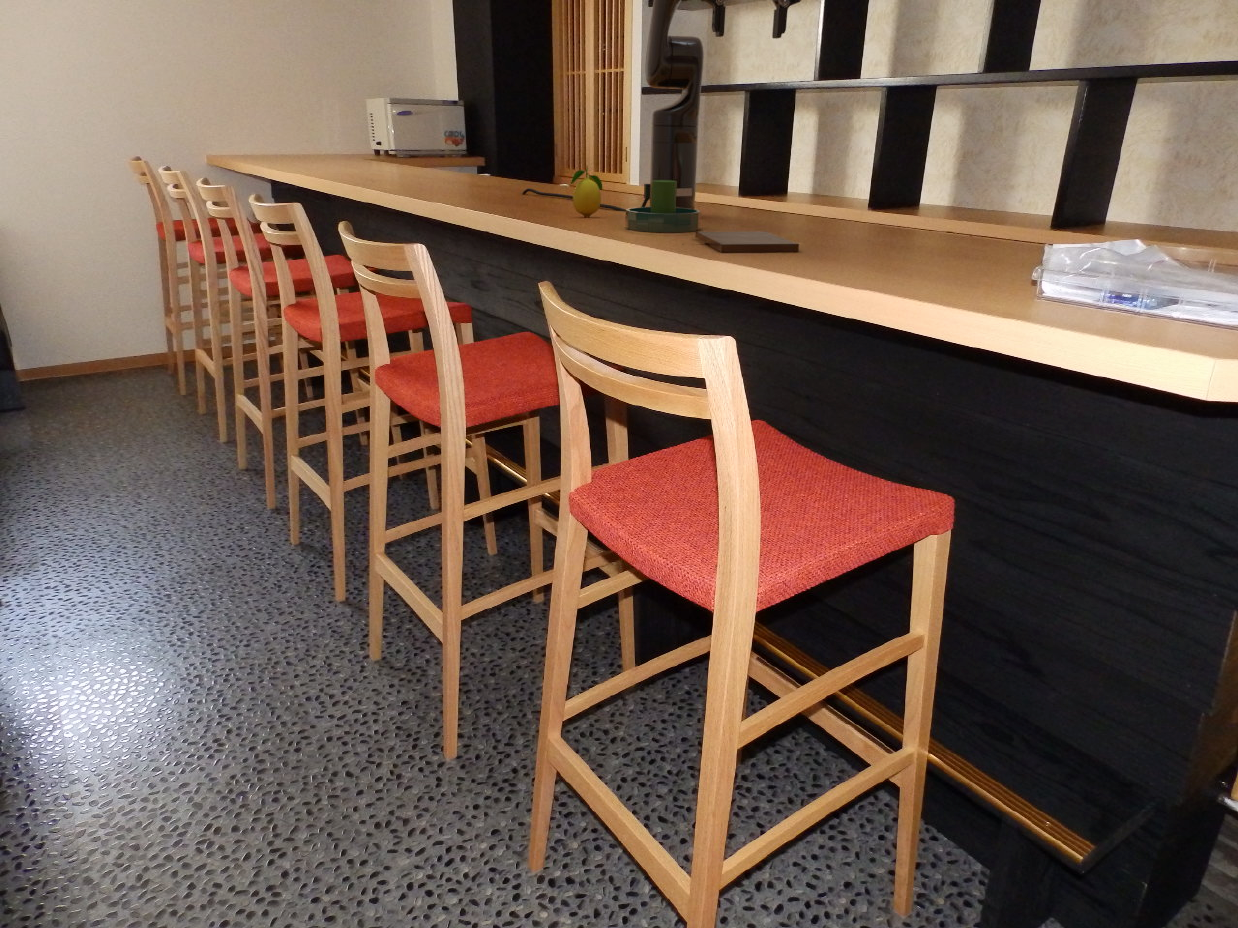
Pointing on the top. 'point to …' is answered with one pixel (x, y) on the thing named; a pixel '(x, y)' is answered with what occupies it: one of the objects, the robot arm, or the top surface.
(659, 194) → the tall green pillar
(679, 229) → the bowl
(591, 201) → the lemon
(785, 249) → the board
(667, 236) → the top surface
